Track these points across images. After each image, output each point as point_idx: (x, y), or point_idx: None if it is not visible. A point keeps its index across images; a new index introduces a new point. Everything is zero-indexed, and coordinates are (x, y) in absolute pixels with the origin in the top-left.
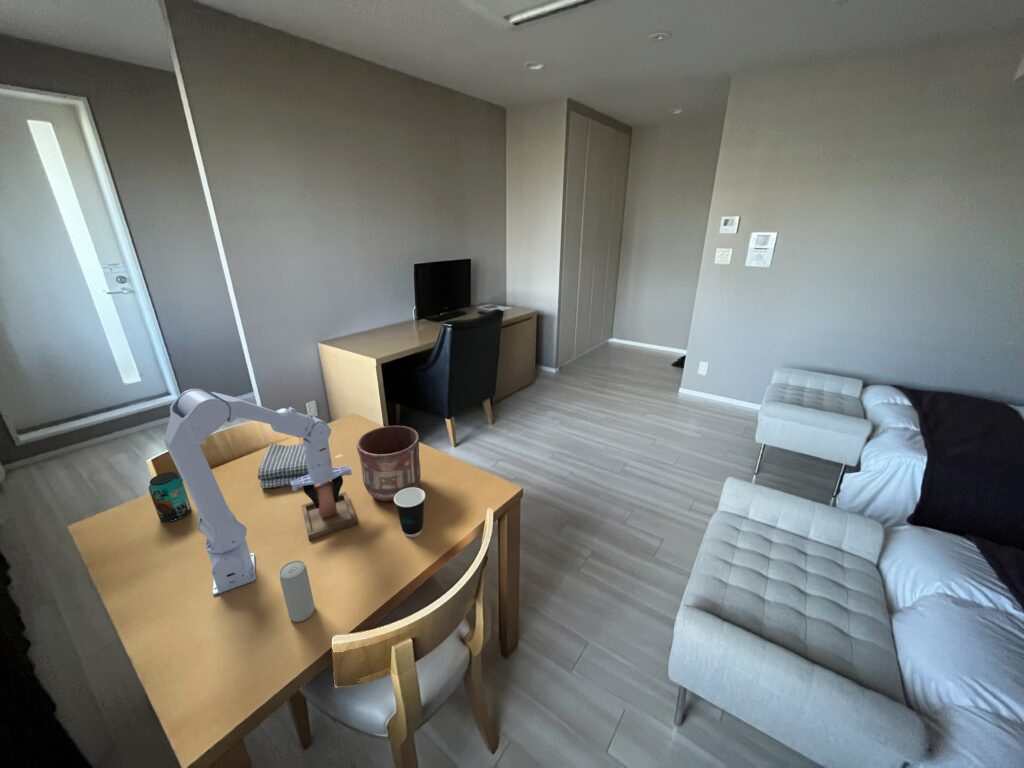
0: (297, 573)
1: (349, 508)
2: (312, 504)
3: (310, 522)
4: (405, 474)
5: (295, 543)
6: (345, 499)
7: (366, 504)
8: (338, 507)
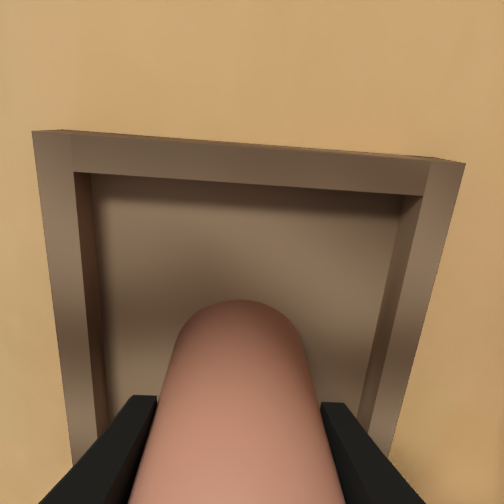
0: None
1: (383, 399)
2: (138, 175)
3: (110, 343)
4: None
5: (20, 444)
6: (408, 278)
7: (496, 332)
8: (325, 287)
